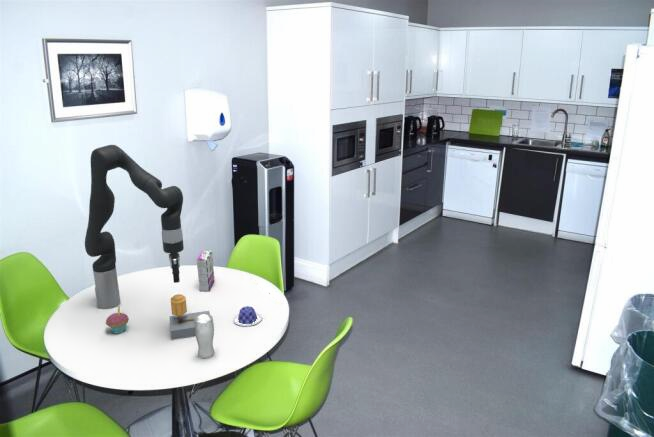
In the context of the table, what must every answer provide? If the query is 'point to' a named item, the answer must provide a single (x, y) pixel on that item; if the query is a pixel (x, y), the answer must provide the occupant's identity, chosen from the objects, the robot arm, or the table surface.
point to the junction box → (184, 325)
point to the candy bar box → (205, 270)
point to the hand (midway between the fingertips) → (176, 277)
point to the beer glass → (204, 335)
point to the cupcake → (117, 321)
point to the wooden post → (180, 319)
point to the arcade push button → (178, 305)
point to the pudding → (247, 316)
